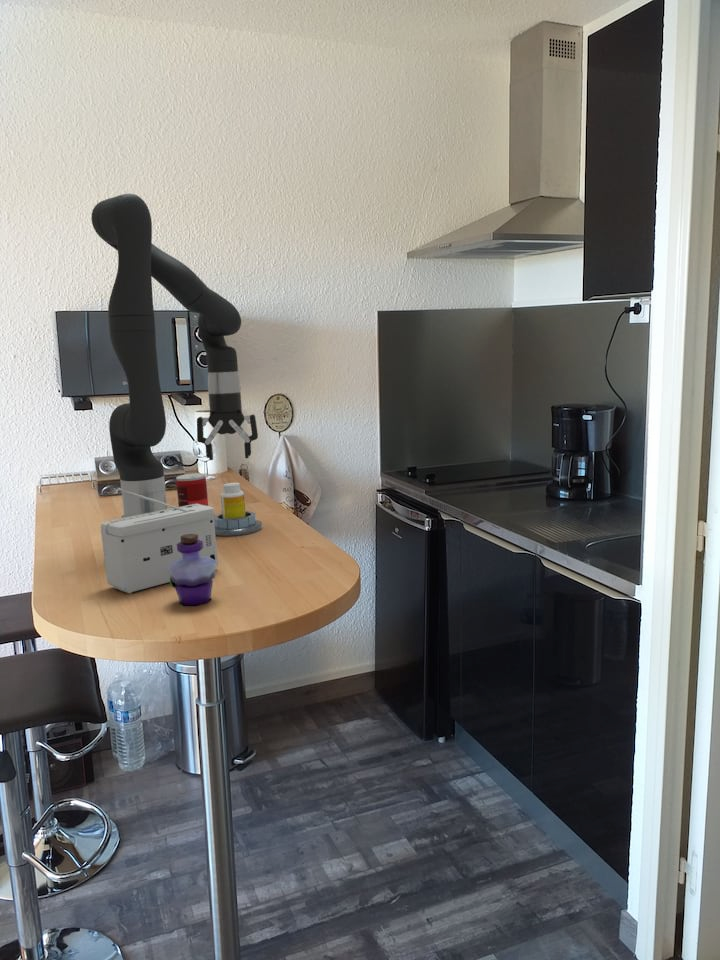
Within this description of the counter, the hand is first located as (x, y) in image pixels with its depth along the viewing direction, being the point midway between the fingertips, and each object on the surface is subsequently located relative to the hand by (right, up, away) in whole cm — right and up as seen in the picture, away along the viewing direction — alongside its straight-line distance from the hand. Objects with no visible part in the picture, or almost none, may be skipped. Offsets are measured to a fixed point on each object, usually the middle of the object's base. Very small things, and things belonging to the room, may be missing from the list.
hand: (229, 458), depth 182 cm
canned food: (-13, -15, +22) cm, 30 cm away
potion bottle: (+3, -27, -49) cm, 56 cm away
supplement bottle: (+1, -16, +3) cm, 17 cm away
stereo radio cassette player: (-6, -25, -35) cm, 43 cm away
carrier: (+1, -17, +3) cm, 18 cm away
